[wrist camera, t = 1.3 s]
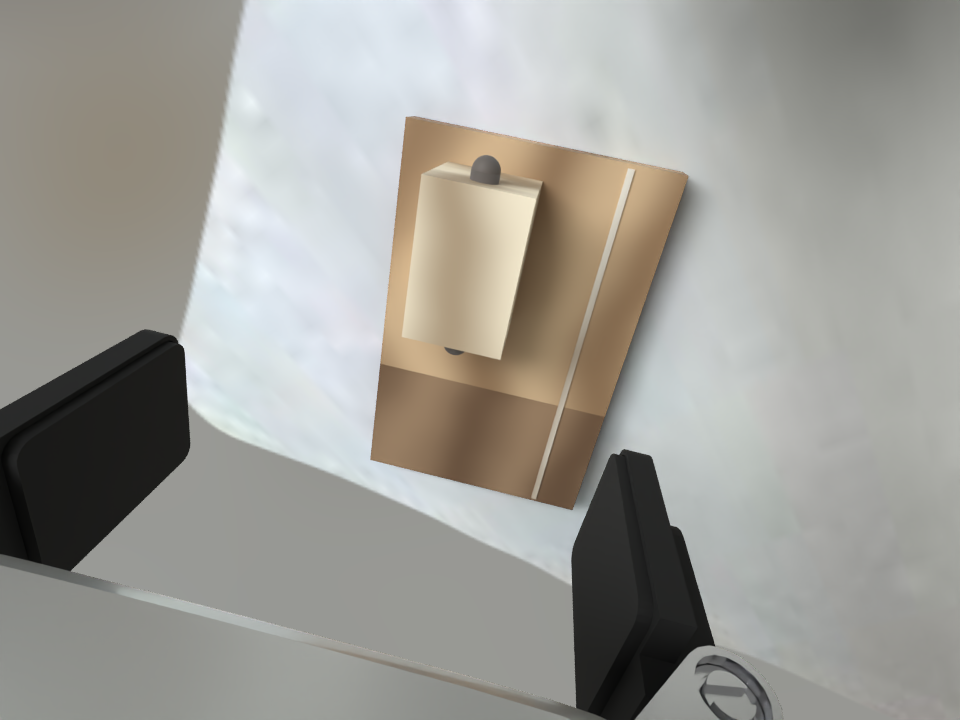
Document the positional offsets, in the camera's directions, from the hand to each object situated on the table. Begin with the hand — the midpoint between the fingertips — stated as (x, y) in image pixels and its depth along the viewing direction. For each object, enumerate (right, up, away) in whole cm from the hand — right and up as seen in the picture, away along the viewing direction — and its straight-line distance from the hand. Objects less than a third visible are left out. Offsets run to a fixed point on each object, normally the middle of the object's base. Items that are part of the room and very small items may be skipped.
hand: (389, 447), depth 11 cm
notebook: (+3, +3, +18) cm, 19 cm away
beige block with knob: (+2, +8, +15) cm, 17 cm away
